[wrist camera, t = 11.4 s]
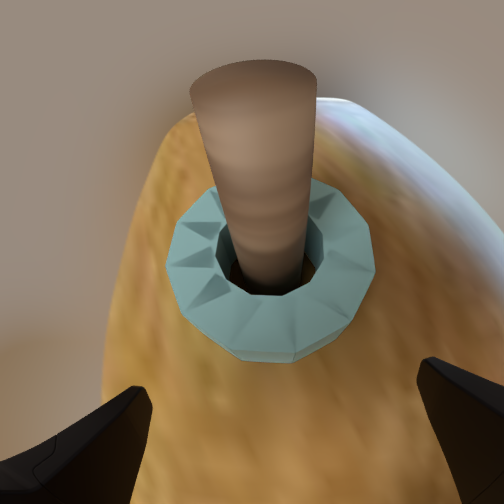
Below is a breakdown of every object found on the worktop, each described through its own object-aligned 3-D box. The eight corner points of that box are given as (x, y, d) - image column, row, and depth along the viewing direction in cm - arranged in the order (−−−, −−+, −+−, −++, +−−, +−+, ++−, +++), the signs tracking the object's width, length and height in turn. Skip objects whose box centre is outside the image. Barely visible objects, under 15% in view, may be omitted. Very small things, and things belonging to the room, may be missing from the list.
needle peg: (310, 288, 17) (343, 90, 6) (258, 313, 17) (210, 124, 5) (284, 245, 19) (278, 53, 8) (236, 266, 18) (178, 79, 7)
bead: (359, 362, 14) (381, 351, 11) (177, 353, 16) (149, 339, 12) (347, 212, 20) (357, 174, 16) (204, 210, 21) (191, 173, 18)
